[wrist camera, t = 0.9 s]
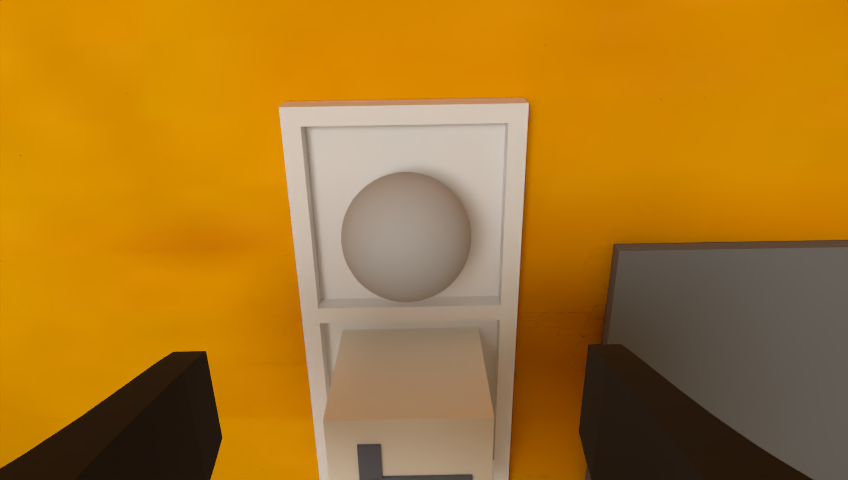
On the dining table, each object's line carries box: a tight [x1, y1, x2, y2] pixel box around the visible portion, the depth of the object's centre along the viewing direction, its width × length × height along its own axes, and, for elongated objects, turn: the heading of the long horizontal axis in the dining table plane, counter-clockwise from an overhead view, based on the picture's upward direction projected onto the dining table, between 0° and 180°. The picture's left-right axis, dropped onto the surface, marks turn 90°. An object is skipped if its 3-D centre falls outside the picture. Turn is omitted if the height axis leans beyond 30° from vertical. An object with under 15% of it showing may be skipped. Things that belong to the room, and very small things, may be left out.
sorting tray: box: [279, 98, 529, 480], centre depth 23 cm, size 22×8×1 cm, turn 1°
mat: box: [585, 240, 848, 480], centre depth 23 cm, size 11×11×1 cm
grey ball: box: [341, 172, 471, 302], centre depth 18 cm, size 4×4×4 cm
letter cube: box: [323, 327, 494, 480], centre depth 20 cm, size 5×5×5 cm
